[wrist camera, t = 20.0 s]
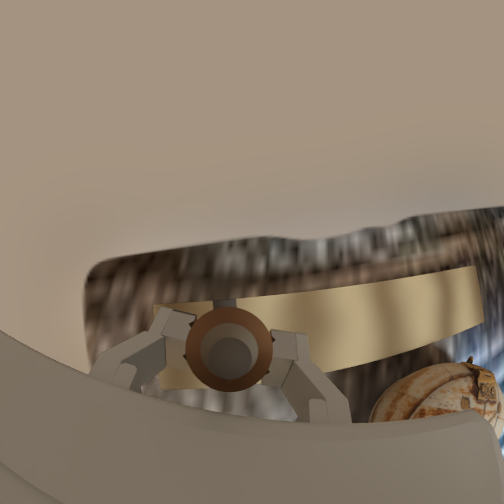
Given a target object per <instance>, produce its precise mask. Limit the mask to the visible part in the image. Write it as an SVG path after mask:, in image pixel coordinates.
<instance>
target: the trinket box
mask: <svg viewBox="0 0 504 504" xmlns="http://www.w3.org/2000/svg"><path fill="white" fill-rule="evenodd" d="M469 361H470V362H469ZM472 363H473V357H472V356H470V357H469V358H468V360H467V362H461V363H441V364H435V365H431V366H428V367H425V368H422V369H420V370H417V371H415V372H413V373H411V374H409V375H407V376H406V377H404V378H401V379H399V380H397V381H396V382H394V383H393V384H392V385H391V386H390V387H388V388H387V389H386V391H385V392H384V393H383V394H382V395H381V396H380V397H379V399H378V400H377V402H376V403H375V405H374V407H373V409H372V411H371V414H370V417H369V423H374V422H389V421H400V420H409V419H418V418H425V417H432V416H438V415H443V414H449V413H454V412H459V411H463V410H469V409H472V410H475V411H476V412H478V413H479V414H480V415H481V416H482V417H484V418H485V419H486V420H487V421H488V422H489V423H490V424H491V425H492V427H493V428H494V431H495V433H496V435H497V438H498V439H499V437H500V435H501V433H502V430H503V427H504V396H503V393H502V391H501V389H500V387H499V385H498V384H497V382H496V380H495V376H494V374H493V373H492V372H491V371H489V370H487V369H485V368H482V367H480V366H477V365H474V364H472Z"/></svg>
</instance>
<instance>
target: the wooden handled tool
mask: <svg viewBox="0 0 504 504" xmlns="http://www.w3.org/2000/svg"><path fill="white" fill-rule="evenodd" d="M185 353H186V359H187V362H188V365H189V367H190V369H191V371H192V372H193V374H194V375H195V376H196V377H197V379H199V380H200V381H201V382H202V383H203V384H205V385H206V386H208V387H210V388H212V389H215V390H218V391H223V392H236V391H241V390H245V389H247V388H249V387H251V386H253V385H255V384H256V383H257V382H258V381H260V380H261V379H262V378H263V376H264V375H265V374H266V372H267V371H268V369H269V367H270V364H271V361H272V357H273V344H272V339H271V336H270V333H269V331H268V329H267V328H266V326H265V325H264V324H263V322H262V321H261V320H260V319H259V318H258V317H256V316H255V315H254V314H252V313H250V312H248V311H246V310H244V309H240V308H236V307H222V308H217V309H213V310H211V311H209V312H207V313H205V314H204V315H202V316H201V317H200V318H199V319H198V320H197V321H196V322H195V323H194V324H193V326H192V327H191V329H190V331H189V333H188V336H187V339H186V345H185Z"/></svg>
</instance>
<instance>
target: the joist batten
mask: <svg viewBox="0 0 504 504" xmlns="http://www.w3.org/2000/svg"><path fill="white" fill-rule="evenodd" d="M162 306H163V307H167V308H171V309H176V310H180V311H184V312H188V313H192V314H196V315H197V320H198V319H199V318H200V317H201V316H202V315H204V314H205V313H207V312H209V311H211V310H213V309H217V308H222V307H236V308H240V309H244V310H246V311H248V312H250V313H252V314H254V315H255V316H256V317H258V318H259V319H260V320H261V321H262V322H263V324H264V325H265V326H266V328H267V329H268V331H270V329H276V330H282V331H289V332H298V333H306V334H307V336H308V343H309V351H310V359H311V362H312V363H315V364H316V365H317V366H318V367H319V369H320V370H321V371H322V372H323V373H326V372H331V371H335V370H340V369H344V368H349V367H353V366H357V365H361V364H365V363H369V362H372V361H376V360H380V359H383V358H387V357H390V356H394V355H397V354H400V353H404V352H407V351H410V350H413V349H416V348H419V347H422V346H425V345H428V344H430V343H433V342H436V341H439V340H441V339H444V338H447V337H449V336H452V335H454V334H457V333H459V332H462V331H464V330H466V329H469V328H471V327H473V326H476V325H478V324H480V323H482V322H485V321H484V313H483V306H482V299H481V293H480V287H479V282H478V276H477V272H476V267H475V265H472V266H467V267H462V268H457V269H452V270H446V271H441V272H436V273H430V274H424V275H419V276H413V277H407V278H400V279H394V280H388V281H381V282H375V283H368V284H361V285H354V286H346V287H339V288H331V289H323V290H315V291H307V292H298V293H289V294H280V295H270V296H260V297H249V298H238V299H227V300H214V301H201V302H186V303H170V304H153V313H154V319H155V317H156V315H157V313H158V311H159V309H160V308H161V307H162ZM159 381H160V388H161V389H199V388H210V387H208V386H206V385H205V384H203V383H202V382H201V381H200V380H199V379H197V377H196V376H195V375H194V374H193V372H192V371H191V369H190V367H189V365H188V366H187V369H186V371H185V370H180V369H176V368H171V367H167V366H166V368H164V369H163V370H162V371H161V372H159ZM258 383H261V380H260V381H258V382H257V383H256V384H258Z"/></svg>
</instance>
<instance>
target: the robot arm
mask: <svg viewBox="0 0 504 504" xmlns="http://www.w3.org/2000/svg"><path fill="white" fill-rule="evenodd" d="M196 321H197V315H196V314H192V313H188V312H184V311H180V310H176V309H171V308H167V307H163V306H162V307H161V308H160V309H159V311H158V313H157V315H156V317H155V319H154V321H153V322H152V324H151V326H150V328H149V330H148V332H147V331H143V332H141V333H140V334H138V335H136V336H134V337H132V338H130V339H128V340H126V341H124V342H122V343H120V344H118V345H116V346H114V347H112V348H110V349H108V350H106V351H104V352H102V353H101V354H100V355H99V357H98V359H97V360H96V362H95V364H94V366H93V367H92V369H91V371H90V373H89V374H85V373H83V372H80V371H78V370H76V369H73V368H71V367H69V366H67V365H64V364H62V363H60V362H58V361H56V360H54V359H52V358H50V357H47V356H46V355H44V354H42V353H40V352H38V351H36V350H34V349H32V348H30V347H28V346H27V345H24V344H23V343H21V342H19V341H17V340H16V339H14V338H12V337H11V336H9V335H7V334H6V333H4V332H2V331H1V330H0V504H504V459H503V455H502V452H501V448H500V445H499V441H498V438H497V435H496V433H495V431H494V428H493V427H492V425H491V424H490V423H489V422H488V421H487V420H486V419H485V418H484V417H482V416H481V415H480V414H479V413H478V412H476V411H475V410H472V409H469V410H463V411H459V412H454V413H449V414H443V415H438V416H432V417H425V418H418V419H409V420H400V421H389V422H374V423H352V419H351V414H350V408H349V403H348V399H347V398H346V397H345V396H344V395H343V394H342V393H341V392H340V391H339V389H338V388H337V387H336V386H335V385H334V384H333V383H332V382H331V381H330V380H329V378H328V377H327V376H326V375H325V374H324V373H323V372H322V371H321V370H320V369H319V367H318V366H317V365H316V364H315V363H312V362H311V359H310V351H309V343H308V336H307V334H306V333H298V332H289V331H282V330H276V329H270V331H269V333H270V336H271V339H272V344H273V357H272V361H271V364H270V367H269V369H268V371H267V372H266V374H265V375H264V376H263V378H262V379H261V385H266V386H272V387H279V388H281V390H282V391H283V393H284V394H285V396H286V398H287V399H288V401H289V402H290V404H291V406H292V407H293V409H294V410H295V412H296V414H297V415H298V418H297V419H296V421H295V422H289V421H277V420H267V419H259V418H251V417H244V416H237V415H231V414H225V413H219V412H214V411H209V410H204V409H199V408H194V407H190V406H186V405H181V404H177V403H173V402H169V401H166V400H162V399H158V398H155V397H151V396H148V395H144V394H142V391H141V386H142V385H144V384H145V383H146V382H148V381H149V380H150V379H152V378H153V377H154V376H155V375H157V374H158V373H159V372H161V371H162V370H163V369H164V368H166V366H167V367H171V368H176V369H180V370H185V371H186V369H187V366H188V362H187V359H186V353H185V345H186V339H187V336H188V333H189V331H190V329H191V327H192V326H193V324H194V323H195V322H196Z"/></svg>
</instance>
